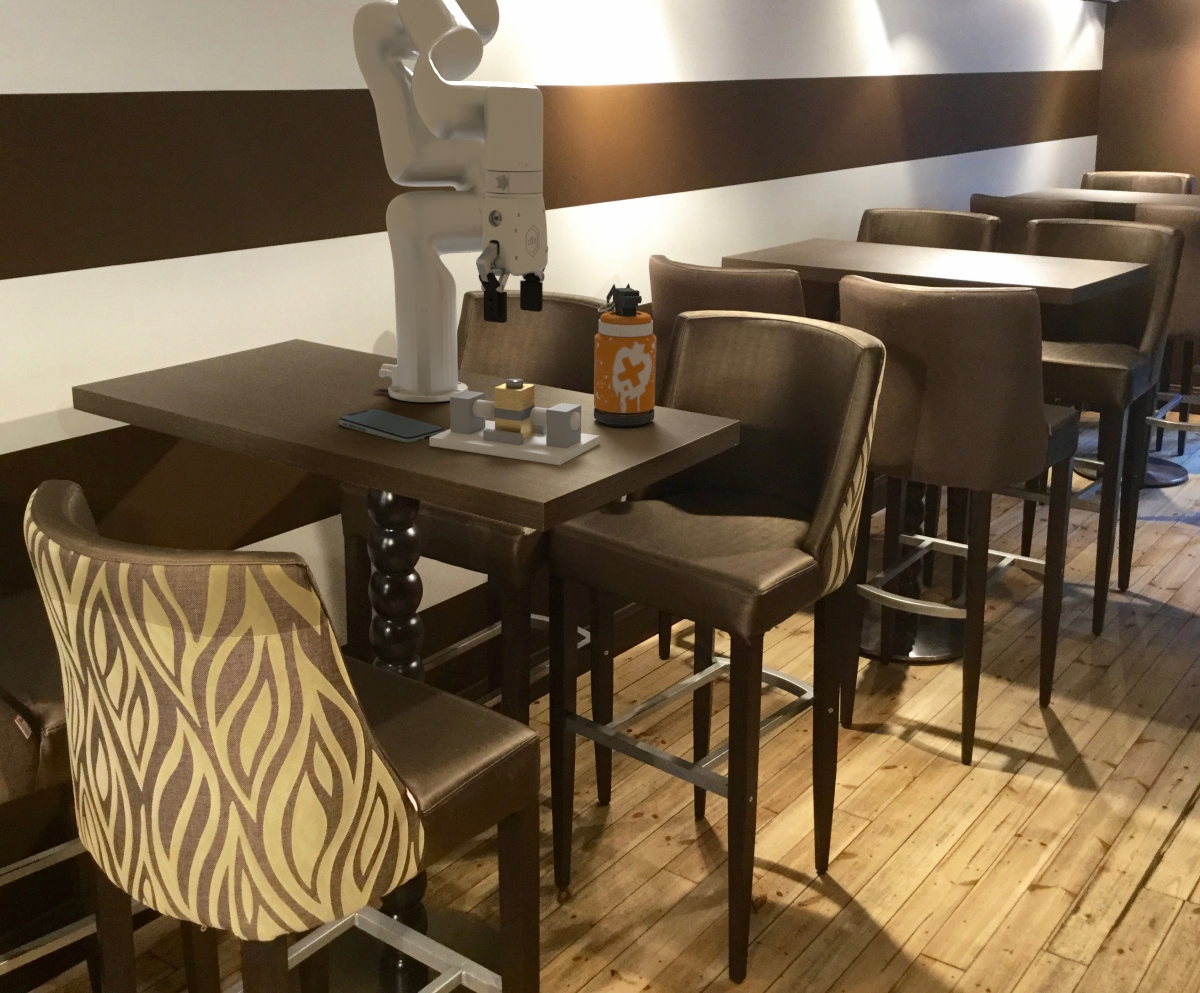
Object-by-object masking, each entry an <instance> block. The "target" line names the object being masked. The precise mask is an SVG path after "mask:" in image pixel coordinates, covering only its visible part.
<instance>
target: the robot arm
mask: <svg viewBox="0 0 1200 993" xmlns="http://www.w3.org/2000/svg"><path fill="white" fill-rule="evenodd" d="M352 26H353V27H352V37H353V38H352V39H353V48H354V52H355V59H356V61H357V66H358V68H359V71H360V73H361V75H362V77H363V79H364V82H365V84H366V86H367V88H368V90H369V92H370V95H371V98H372V101H373V105H374V108H375V113H376V115H375V116H376V119H377V126H378V131H379V137H380V143H381V147H382V152H383V158H384V163H385V167H386V170H387V173H388V175H389V178H390V179H391V181H393V183H395V184H397V185H399V186H402V187H418V188H421V187H422V188H423V187H453V188H455V190H417V191H409V192H404V193H401V194H399V195H397V196H396V197H394V198H393V199H392V200H390V202H389V204H388V206H387V209H386V213H385V223H386V231H387V235H388V240H389V246H390V251H391V257H392V258H391V259H392V264H393V265H392V266H393V267H392V268H393V279H394V280H393V281H394V304H395V305H394V306H395V330H396V333H395V334H396V336H395V337H396V338H395V339H396V360H397V361H396V363H397V364H391V363H382V364H381V367H380V369H379V370H378V376H379V377H380V378H386V379H391V385H390V386H389V387H388V391H387V392H388V396H389V397H390V398H392V399H395V400H398V401H403V402H412V403H441V402H442V403H443V402H448V401H449V402H450V397H451V396H453V395H456V394H459V393H461V392H464V391H469V387H468V385H467V384H466V383H464V382H461V381H459V376H458V375H459V373H458V372H459V366H458V361H459V360H458V324H457V323H458V320H457V319H458V317H457V316H458V313H457V312H458V311H457V310H458V309H457V284H456V281H455V278H454V276H453V274H452V273H451V271H450V270H449V268H448V267H447V266H446V265H445V264H444V262H443V261H442V260H441V257H440V256H442V255H443V256H444V255H448V254H468V253H469V254H470V253H481V254H480V255H479V256H478V257H477V259H476V261H475V266H476V267H477V268H476V269H477V272H478V280H479V281H480V283H481V286H480V287H481V288H480V289H481V290H482V291H483V320H484V321H485V322H489V323H498V324H499V323H500V324H504V323H507V322H508V292H507V291H505V288H506V285H507V283H508V280H509V277H510V275H511V276H513V277H520V276H521V277H522V279H520V281H519V289H520V290H519V308H520V310H522V311H528V312H535V313H537V312H538V313H539V312H542V311H543V305H544V304H543V299H544V298H543V293H544V292H543V291H544V288H543V287H544V286H543V284H544V283H543V282H544V280H545V276H546V275H545V273H544V272H545V270H546V267H547V265H548V261H549V260H548V259H549V258H548V257H549V254H548V253H549V246H548V245H549V244H548V227H547V215H546V213H547V212H546V207H545V200H544V194H543V192H544V190H543V189H544V188H543V187H544V186H543V185H544V174H543V172H544V171H543V169H544V168H543V167H544V96H543V93H542V91H541V89H540V88H539V87H537V86H535V85H530V84H518V83H515V82H504V81H487V80H486V81H485V80H483V81H482V80H481V81H480V80H477V81H476V80H474V81H472V80H465V79H467V78H468V77H469V76H471V75H472V74H473V73H474V72H475V71H476V70H477V69H478V67H479V65H480V64H481V61H482V59H483V56H484V47H485V46H487V45H488V44H489V43H490V42H491V41H492V40H493V39H494V37H495V36H496V33H497V32H498V28H499V26H500V8H499V4H498V1H497V0H375V1H372V2H368V3H366V4H364V5H362V6H361V7H360V8H358V10H357V12H356V14H355V15H354V19H353V24H352ZM403 60H406V61H407V60H408V61H409V60H410V61H416V62H415V64H414V67H413V71H411V70H410V69H409V68H408V67H407V66H406V65H404V63H403ZM497 277H498V278H497Z"/></svg>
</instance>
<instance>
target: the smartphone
mask: <svg viewBox="0 0 1200 993" xmlns="http://www.w3.org/2000/svg"><path fill="white" fill-rule="evenodd" d="M339 425H340V426H342V427H344V428H348V429H352V430H355V431H359V432H363V433H367V434H370V435H375V436H378V437H383V438H386V439H390V440H394V441H397V442H398V441H399V442H403V443H413V442H418V441H421V440H425V439H426V440H427V439H429V437H431V436H434V435H436V434H439V433H441V432H444V428H442V427H441V426H438V425H434V424H431V423H428V422H424V421H421V420H417V419H414V418H410V417H407V416H404V415H403V416H402V415H400V414H398V413H396V414H395V413H393V412H389V411H385V410H382V409H379V408H371V409H365V410H361V411H357V412H354V413H350V414H349V413H348V414H346V415H342V416H340V417H339Z"/></svg>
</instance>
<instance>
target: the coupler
mask: <svg viewBox="0 0 1200 993" xmlns="http://www.w3.org/2000/svg"><path fill="white" fill-rule="evenodd" d="M494 402H495V408H494V417H495V419H494V421H495V430H500V431H507V432H514V433H522V434H523V440H525V439H527V438H529V437H531V436H533V435H534V425H533V424H532V423H531V421H530V414H531V410H532V409H533V408H534V407H536V406H535V384H530V383H524V380H523V379H521V378H508V379H505V383H503V384H501V385H498V386H495V387H494Z"/></svg>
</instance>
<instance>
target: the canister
mask: <svg viewBox="0 0 1200 993" xmlns="http://www.w3.org/2000/svg"><path fill="white" fill-rule="evenodd" d="M611 299H612V301H611ZM610 301H611V302H610ZM642 301H643V297H642V295H640V290H637V289H633V288H631V285H630V283H627V285H626V287H616V284H615V283H614V284H613V285H612V286H611V288H610V290H609V291H608V293H607V295H606V304H603V305H601V306H600V307H599V308H598V309H597V311H598V312H597V313H602V314H601V315H600V317H599V319H598V333H596V334H595V335H594V359H593V360H594V364H593V365H594V369H593V372H594V373H593V375H594V376H593V407H594V409H593V419H595V420H596V421H598V422H602V423H603V424H604V423H605V425H607V426H610V427H617V428H619V427H620V428H633V427H632V426H634V427H639V425H640V426H643V425H644V424H646V423H649V422H652V421H653V420H654V419H655V409H654V408H655V405H656V404H655V403H656V402H655V401H656V367H657V366H656V365H657V363H656V362H657V360H656V359H657V336H656V335H655V334H654V320H653V319H652V317H651V315H650V314H649V313H648V312H643V311H637V308H639V304H642ZM605 307H606V308H605ZM603 308H605V309H603ZM602 309H603V310H602ZM614 309H615V310H614ZM642 424H643V425H642Z"/></svg>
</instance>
